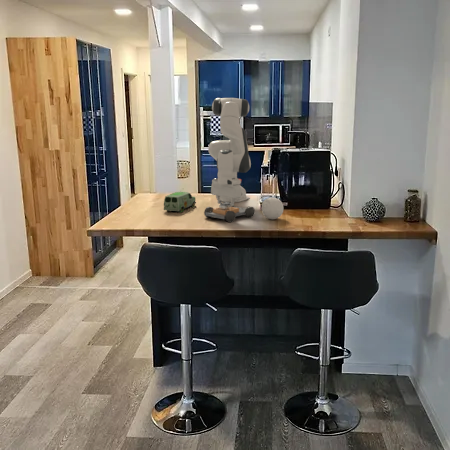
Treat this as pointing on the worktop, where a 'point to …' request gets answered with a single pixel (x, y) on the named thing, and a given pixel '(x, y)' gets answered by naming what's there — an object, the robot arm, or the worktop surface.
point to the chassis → (229, 213)
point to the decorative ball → (272, 208)
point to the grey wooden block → (225, 206)
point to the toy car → (179, 201)
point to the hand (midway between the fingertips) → (225, 204)
